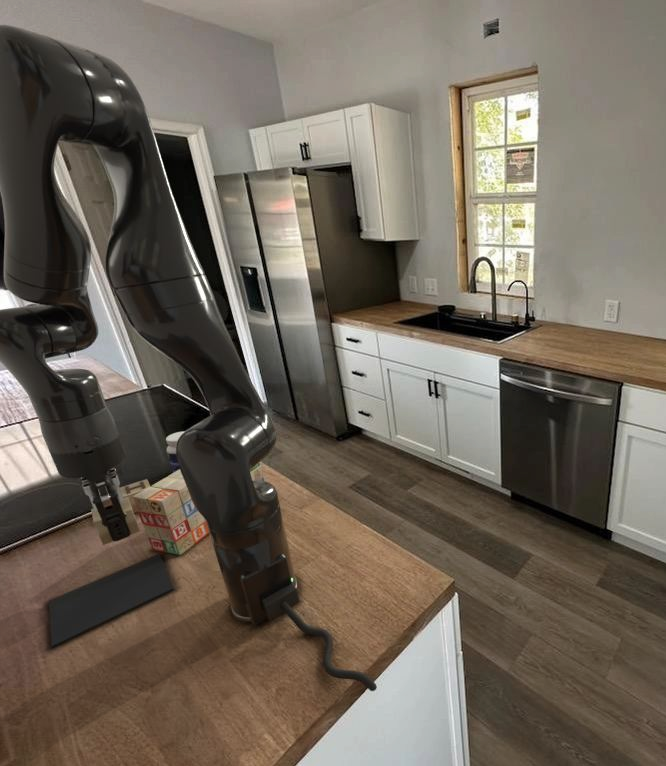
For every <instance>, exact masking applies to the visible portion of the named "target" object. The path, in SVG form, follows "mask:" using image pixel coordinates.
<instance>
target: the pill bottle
mask: <svg viewBox="0 0 666 766" xmlns="http://www.w3.org/2000/svg"><path fill="white" fill-rule="evenodd" d="M185 431H186V430H185ZM185 431H183V430H182V431H177V432H173V433H170V434H168V436H166V438H165V442H166V444H167V445H168V446H167V447H166V453H167V457H168V460H169V463H170V466H171V470H172V473H174V472H176V471H177V470H179V469H180V468H179V465H178V462H177V457H176V445H177V441H178V439H179V437H180V436H181V435H182V434H183V433H184V432H185Z"/></svg>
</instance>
